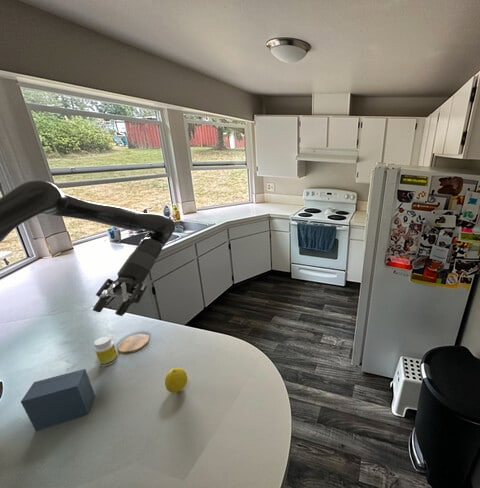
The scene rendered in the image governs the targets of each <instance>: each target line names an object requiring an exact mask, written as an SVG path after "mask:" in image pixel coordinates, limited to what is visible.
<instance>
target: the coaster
mask: <svg viewBox="0 0 480 488" xmlns="http://www.w3.org/2000/svg"><path fill="white" fill-rule="evenodd" d="M149 343H150V336H149V335H148V334H144V333H138V334H135V335H131V336H128V337H127V338H125V339H123V340H122V341H121V342H120V343H119V344H118V346H117V350H118V351H119V353H121V354H131V353H135V352H137V351H139V350H142V349H143V348H145V347H146V346H147V345H148V344H149Z"/></svg>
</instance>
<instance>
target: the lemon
mask: <svg viewBox="0 0 480 488" xmlns="http://www.w3.org/2000/svg"><path fill="white" fill-rule="evenodd" d="M187 383H188V375H187V371H185V369H183V368H182V367H174V368H172V369H170V370H168V372H167V373H166V375H165V377H164V387H165V389H166V390H167V391H168V392H169V393H172V394H176V393H179V392H181V391H183V389H184V388H185V387H186V385H187Z"/></svg>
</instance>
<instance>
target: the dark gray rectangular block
mask: <svg viewBox="0 0 480 488" xmlns="http://www.w3.org/2000/svg"><path fill="white" fill-rule="evenodd" d="M95 397H96V394H95V391H94V389H93V386H92V383H91V381H90V378H89V375H88V372H87V370H86V368H83V369H79V370H75V371H72V372H67V373H64V374H60V375H55V376H52V377H47V378H43V379H41V380H37V381H33V383H32V384H31V385H30V387H29V389H28V391H27V392H26V393H25V394H24V396H23V398H21V400H20V403H21V405H22V407H23V409H24V411H25V414H26V415H27V417H28V419H29V421H30V423H31V425H32V427H33V429H34V431H35V432H37V431H41V430H44V429H46V428H50V427H52V426H56V425H59V424H62V423H65V422H68V421H71V420H74V419H77V418H80V417H84V416H87V415H89V413H90V411H91V409H92V405H93V403H94V401H95Z"/></svg>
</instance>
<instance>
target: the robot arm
mask: <svg viewBox="0 0 480 488" xmlns="http://www.w3.org/2000/svg"><path fill="white" fill-rule="evenodd" d="M39 215H43V216H54V217H64V218H71V219H77V220H84V221H89V222H92V223H93V222H94V223H97V224H102V225H106V226H109V227H112V228H113V227H114V228H118V229H122V230H127V231H131V232H140V231H148V233H146V235H145V237H144V238H143V239H141V240H140V242H139V243H138V244H137V246H136V247H135V249H134V250H133V251H132V253H131V254H129V256H128V257H127V259H126V260H125V261H124V263H123V265H122V266H121V267H120V269H119V271H118V272H117V273H116V274H117V277H116V279H115V280H113V279H111V278H108V279H106V280H105V281H104V283H103V284H102V285H101V287H100V288H99V289H98V291H97V292H96V293H95V296H97V298H98V300H97V302H95V304H94V306H93V308H92V311H94V312H96V313H101V312H102V311H103V309H105V306H106V305H107V303H108V301H110V300H111V299H112V298H115V297H118V296H122V297H123V301H121V303H120V304H119V306H118V307H117V309H116V311H115V313H114V314H115V315H116V316H119V317H123V316H124V315H125V314H126V313H127V311H128V309H129V308H130V306H131V305H133V304H138V303H140V301H141V299H142V298H143V295H144V293H145V291H146V290H147V288H148V286H147V285H146V284H144V281H145V280H146V278H147V277H148V275H149V273H150V272H151V271H152V269H153V267H154V265H155V263H156V261H157V259H158V257H159V256H160V255H161V252H162V250H163V248H164V247H165V245H166V244H167V243H168V242H169V240H170V238H171V237H172V235H173V233H174V231H175V229H176V222H175V221H174V220H173V219H172V218H170V217H169V216H166V215H163V214H157V213H148V212H147V213H146V212H145V213H144V212H140V211H136V210H132V209H129V208H125V207H121V206H115V205H110V204H103V203H96V202H91V201H87V200H83V199H80V198H76V197H74V196H71V195H69V194H66V193H64V192H62V190H61V189H59V188H58V187H57V185H55V184H53V183H52V182H49V181H46V180H41V179H40V180H39V179H34V180H33V179H32V180H28V181H24V182H23V183H20V184H19V185H17V186H16V187H14V188H13V189H11V190H10V191H9V192H7V193H6V194H4V195H2V196H1V197H0V244H1V243H2V242H3V241H4V240H5V239H6V237H8V236H9V235H10V234H11V232H12V231H13V230H15V229H16V228H18V226H21V225H22V224H24V223H25V222H27V221H29V220H31V219H33V218H34V217H37V216H39Z"/></svg>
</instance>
